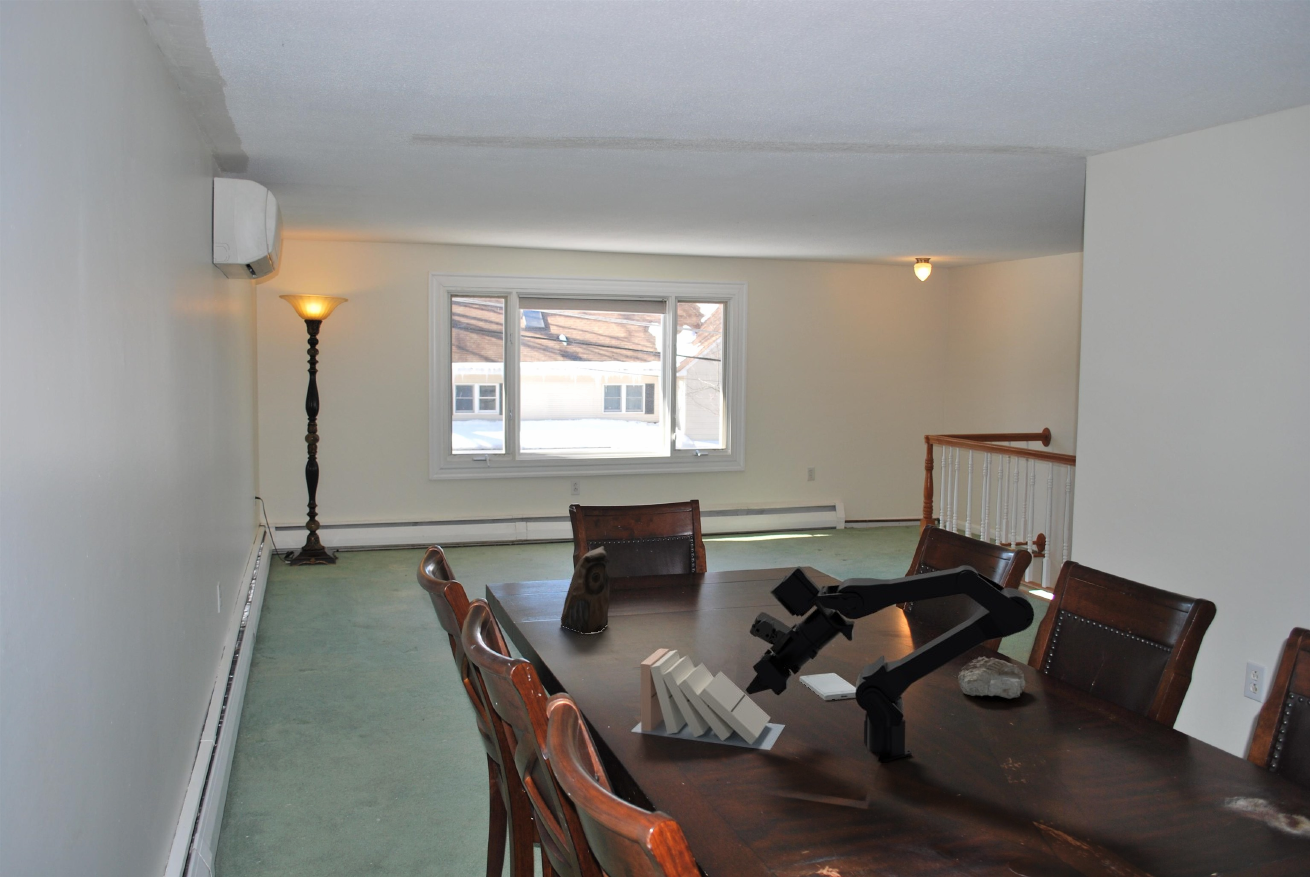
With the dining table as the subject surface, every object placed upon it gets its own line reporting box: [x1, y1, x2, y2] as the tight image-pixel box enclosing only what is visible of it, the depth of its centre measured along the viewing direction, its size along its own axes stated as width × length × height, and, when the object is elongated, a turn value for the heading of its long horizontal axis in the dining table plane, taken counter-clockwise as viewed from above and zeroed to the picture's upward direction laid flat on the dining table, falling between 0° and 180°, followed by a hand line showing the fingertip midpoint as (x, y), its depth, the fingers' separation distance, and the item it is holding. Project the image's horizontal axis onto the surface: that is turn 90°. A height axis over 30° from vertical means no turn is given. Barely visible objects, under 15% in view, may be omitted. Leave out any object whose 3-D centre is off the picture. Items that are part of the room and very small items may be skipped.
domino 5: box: [698, 671, 771, 745], centre depth 167 cm, size 2×10×12 cm
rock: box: [957, 655, 1026, 700], centre depth 190 cm, size 14×9×10 cm
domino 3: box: [662, 655, 710, 737], centre depth 170 cm, size 2×10×12 cm
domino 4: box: [678, 662, 734, 741], centre depth 169 cm, size 2×10×12 cm
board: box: [631, 719, 786, 751], centre depth 169 cm, size 25×12×1 cm, turn 70°
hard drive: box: [798, 672, 856, 701], centre depth 193 cm, size 2×8×12 cm
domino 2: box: [650, 649, 686, 734], centre depth 171 cm, size 2×10×12 cm, turn 160°
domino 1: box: [640, 648, 670, 732], centre depth 172 cm, size 2×10×12 cm, turn 160°
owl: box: [560, 545, 611, 633], centre depth 239 cm, size 13×13×20 cm
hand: (747, 691), depth 166 cm, fingers closed
